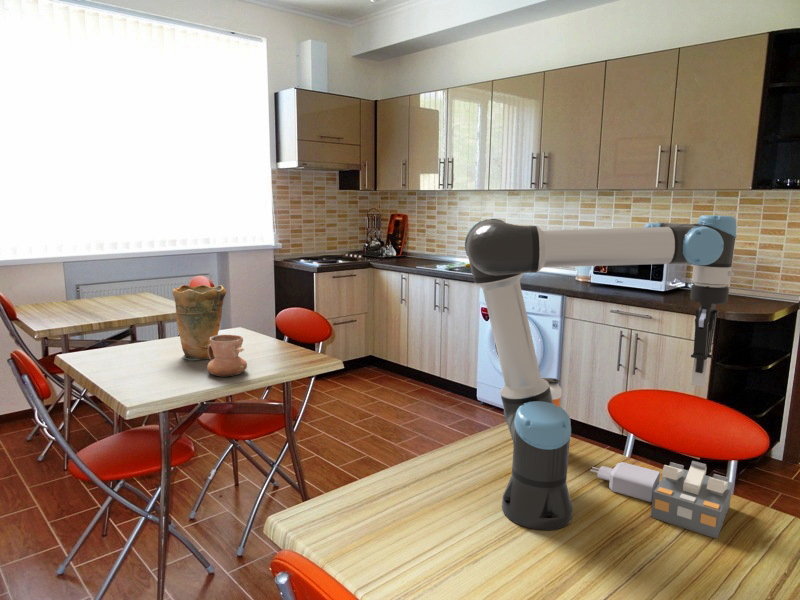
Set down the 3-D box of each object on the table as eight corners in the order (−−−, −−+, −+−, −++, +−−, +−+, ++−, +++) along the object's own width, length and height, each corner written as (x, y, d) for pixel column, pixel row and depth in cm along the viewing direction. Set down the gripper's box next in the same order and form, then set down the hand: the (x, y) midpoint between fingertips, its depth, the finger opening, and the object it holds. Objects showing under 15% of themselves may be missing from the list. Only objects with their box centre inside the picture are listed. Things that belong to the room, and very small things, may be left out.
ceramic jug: (257, 373, 222) (256, 336, 220) (228, 382, 210) (226, 343, 207) (225, 365, 231) (224, 331, 229) (195, 374, 219) (193, 337, 217)
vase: (237, 356, 243) (235, 286, 238) (191, 366, 228) (188, 291, 223) (212, 347, 257) (209, 280, 252) (167, 355, 243) (164, 284, 237)
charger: (595, 471, 148) (658, 488, 140) (585, 485, 141) (651, 504, 132) (597, 453, 147) (660, 470, 139) (586, 467, 140) (653, 485, 132)
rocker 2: (698, 495, 124) (698, 486, 123) (682, 490, 126) (683, 481, 125) (706, 472, 130) (706, 464, 129) (691, 468, 132) (691, 460, 131)
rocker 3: (722, 493, 121) (724, 482, 121) (706, 488, 123) (708, 477, 123) (727, 488, 127) (728, 477, 127) (711, 484, 129) (713, 473, 129)
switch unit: (716, 539, 119) (720, 509, 118) (650, 517, 126) (653, 488, 125) (729, 507, 132) (733, 479, 130) (668, 489, 139) (671, 462, 138)
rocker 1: (676, 480, 126) (677, 469, 126) (661, 475, 128) (663, 465, 128) (682, 476, 133) (684, 465, 133) (668, 472, 134) (670, 461, 135)
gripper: (724, 289, 123) (711, 395, 127) (733, 283, 133) (721, 381, 137) (685, 285, 127) (674, 388, 131) (697, 279, 137) (686, 375, 141)
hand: (698, 385), depth 134 cm, fingers closed
